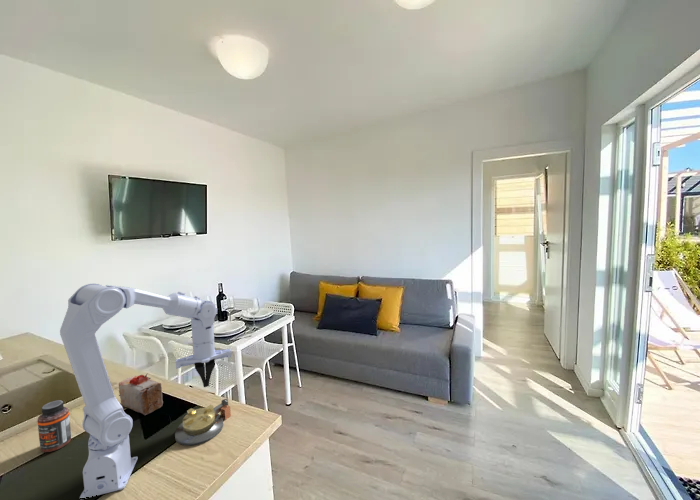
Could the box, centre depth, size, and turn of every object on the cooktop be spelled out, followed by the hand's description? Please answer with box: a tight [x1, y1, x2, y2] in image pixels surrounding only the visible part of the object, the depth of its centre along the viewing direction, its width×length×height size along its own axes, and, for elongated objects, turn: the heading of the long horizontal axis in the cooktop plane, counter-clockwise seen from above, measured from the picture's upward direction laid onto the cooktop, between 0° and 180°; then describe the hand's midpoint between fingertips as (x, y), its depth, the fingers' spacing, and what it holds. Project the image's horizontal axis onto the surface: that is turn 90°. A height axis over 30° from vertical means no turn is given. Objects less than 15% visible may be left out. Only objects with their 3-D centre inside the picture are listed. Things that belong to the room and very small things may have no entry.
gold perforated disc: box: [182, 398, 229, 435], centre depth 87 cm, size 14×8×3 cm, turn 152°
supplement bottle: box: [37, 399, 72, 453], centre depth 80 cm, size 6×6×11 cm
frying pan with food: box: [174, 404, 232, 447], centre depth 86 cm, size 14×12×3 cm
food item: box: [118, 373, 164, 416], centre depth 97 cm, size 14×8×10 cm, turn 65°
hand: (206, 385), depth 90 cm, fingers closed
